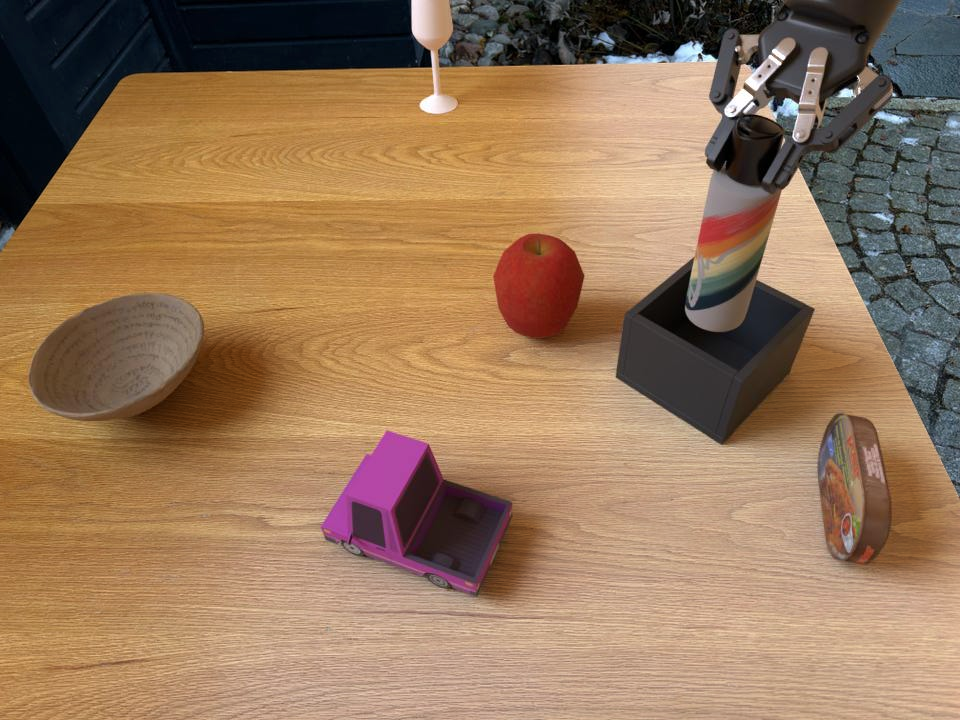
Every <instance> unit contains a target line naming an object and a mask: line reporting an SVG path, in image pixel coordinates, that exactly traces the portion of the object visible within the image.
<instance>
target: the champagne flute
mask: <svg viewBox="0 0 960 720" xmlns="http://www.w3.org/2000/svg"><path fill="white" fill-rule="evenodd" d="M450 4H451V3H450V0H411V32H412V35H413V36H414V39H416V41H417V42H418V43H419V44H421V46H423V47H424V48H425V49H427V50H429V51H430V57H431V69H432V80H433V81H432V82H433V92H434V93H432V94H431V95H429V96H427V97H425V98H424V99H422V100H421V102H420V103H419V108H420V109H421V110H422V111H423V112H425V113H428V114H432V115H433V114H434V115H435V114H436V115H440V114H447V113H449V112H452V111H453V110H455V109H456V108H457V107H458V100H457V99H456V98H455V97H453V96H451V95H448V94H445V93H442V85H441V73H440V61H439V60H440V59H439V50H440V49H442V48H443V47H444V45H446V43H447V42H448V41H449V40H450V38H451V37H452V34H453V32H454V23H453V16H452V11H451V5H450Z"/></svg>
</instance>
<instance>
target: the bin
mask: <svg viewBox="0 0 960 720" xmlns="http://www.w3.org/2000/svg"><path fill="white" fill-rule="evenodd" d="M694 257H695V255H694V256H693V257H692V258H691V259H690V260H688V261H687V262H686V263H684V265H682V266H680V268H679V269H678V270H677V269H676V271H674V273H673V274H671V275H670V276H669V277H668V278H666V279H665V280H664V281H662V282H661V283H660V284H659V285H658V286H657V287H655V288H654V289H652V291H650V292H649V293H648V294H647V295H646V296H644V297H643V298H642V299H640V300H639V301H638V302H637V303H636V304H635V305H633V306H632V307H630V309H629V310H627V311H626V312H625V313H624V315H623V321H622V327H621V328H622V329H621V334H620V335H621V336H620V342H619V347H618V354H617V355H618V356H617V363H616V370H615V378H616V379H617V380H619V381H620V382H622V383H623V384H625V385H626V386H628V387H630V388H631V389H633V390H634V391H636V392H638V393H639V394H641V395H642V396H644V397H645V398H647V399H649V400H650V401H652V402H654V403H655V404H656V405H658V406H659V407H661V408H663V409H664V410H666V411H667V412H669V413H671V414H672V415H674V416H675V417H677V418H678V419H680V420H682V421H683V422H685V423H686V424H688V425H689V426H691V427H692V428H694V429H695V430H698V431H699V432H701V433H702V434H703V435H705V436H707V437H708V438H710V439H712V440H713V441H715V442H716V443H718V444H720V445H723V444H725V442H726V441H727V440H728V439H729V438H730V437H731V436H732V434H734V432H736V431H737V430H738V429H739V428H740V426H741V425H742V424H743V423H744V422H745V421H747V419H748V418H749V417H750V416H751V415H752V414H753V413H754V412H755V410H757V408H758V407H759V406H760V405H761V404H762V403H763V402H764V401H765V400H766V399H767V398H768V397H769V396H770V395H771V394H772V392H773V391H774V390H775V389H776V388H777V387H778V386H779V385H781V383H782V382H783V381H784V380H785V379H786V378H787V377H788V376H789V375H790V373H791V371H792V368H793V366H794V363H795V361H796V358H797V356H798V353H799V351H800V349H801V346H802V343H803V341H804V338H805V336H806V333H807V330H808V328H809V326H810V323H811V320H812V318H813V315H814V313H815V310H816V308H814V307H813V306H811V305H809V304H807V303H805V302H803V301H801V300H799V299H797V298H795V297H793V296H790V295H788V294H786V293H784V292H782V291H781V290H779V289H776V288H774V287H773V286H771V285H768V284H767V283H764V282H762V281H760V280H759V279H756V283H755V286H754V289H753V293H752V296H751V300H750V303H749V307H748V310H747V313H746V316H745V318H744V320H743V322H742V323H741V324H740V325H739V326H738V327H737V328H735V329H733V330H730V331H725V332H713V331H708V330H705V329H702V328H700V327H698V326H696V325H695V324H694V323H692V322H691V321H690V319H689V318H688V316H687V314H686V311H685V304H686V297H687V292H688V287H689V282H690V277H691V272H692V267H693V262H694Z"/></svg>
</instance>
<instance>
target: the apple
mask: <svg viewBox="0 0 960 720" xmlns="http://www.w3.org/2000/svg"><path fill="white" fill-rule="evenodd" d="M492 278H493V284H494V289H495V295H496V302H497V308H498V310H499V313H500V314H501V316H502V317H503V320H504V321H505V323H506V326H507V327H508V328H510V329H511V330H512V331H513V332H514V333H516V334H519V335H521V336H524V337H527V338H528V337H529V338H535V339H543V338H544V339H545V338H551V337H552V336H556V335H558V334H561V332H562V331H563V330H564V329H565V328H567V326H568V324H569V322H570V321H571V319H572V317H573V316H574V314H575V312H576V310H577V309H578V306H579V302H580V297H581V293H582V289H583V284H584V280H585V273H584V270H583V268H582V266H581V264H580V261H579V259H578V256H577V253H576V251H575V250H574V249H572V248H571V247H570V246H569V244H567V243H566V242H565V241H564V240H562V239H561V238H560V237H557V236H552V235H550V234H544V233H540V232H537V233H528V234H524V235H523V236H521V237H519V238H517V239H516V240H515V241H514V242H513V243H512V244H511V245H509V246H508V247H507V248H506V249H505V250H503V251H502V254H501V256H500V257H499V261H498V262H497V266H496V268H495V271H494V273H493V276H492Z"/></svg>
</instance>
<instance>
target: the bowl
mask: <svg viewBox="0 0 960 720" xmlns="http://www.w3.org/2000/svg"><path fill="white" fill-rule="evenodd" d="M204 337H205V323H204V319H203V316H202V315H201V313H200V311H199V310H198V309H197V307H196V306H195V305H193V304H192V303H190V302H189V301H187V300H185V299H184V298H182V297H179V296H177V295H173V294H170V293H161V292H160V293H159V292H140V293H133V294H126V295H121V296H118V297H114V298H111V299H107V300H105V301H103V302H100V303H97V304H94V305H92V306H89V307H87V308H85V309H82V310H80V311H79V312H77V313H75V314H74V315H72V316H69V317H68V318H67V319H65V320H64V321H62V322H61V323H60V324H59V325H58V326H57V327H55V328H54V329H53V330H52V331H51V332H50V333H49V334H47V335H46V336H45V337H44V339H43V340H42V341H41V342H40V344H39V346H38V347H37V348H36V350H35V352H34V353H33V356H32V358H31V361H30V365H29V369H28V375H27V378H28V387H29V391H30V393H31V395H32V397H33V398H34V400H35V401H36V402H37V403H38V405H39V406H41V407H42V408H43V410H45V411H47V412H49V413H51V414H53V415H56V416H59V417H60V418H65V419H69V420H74V421H81V422H104V421H106V422H107V421H112V420H119V419H120V420H121V419H122V420H123V419H128V418H131V417H134V416H137V415H140V414H143V413H144V412H146V411H149V410H151V409H152V408H154V407H155V406H157V405H159V404H161V403H162V402H163V401H164V400H166V398H168V397H169V396H170V395H172V393H173V392H174V391H175V390H176V389H177V388H178V387H179V386H180V385H181V383H182V382H183V381H184V380H185V379H186V377H187V376H188V375H189V374H190V371H192V369H193V368H194V366H195V364H196V362H197V360H198V358H199V355H200V352H201V350H202V346H203V342H204Z"/></svg>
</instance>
